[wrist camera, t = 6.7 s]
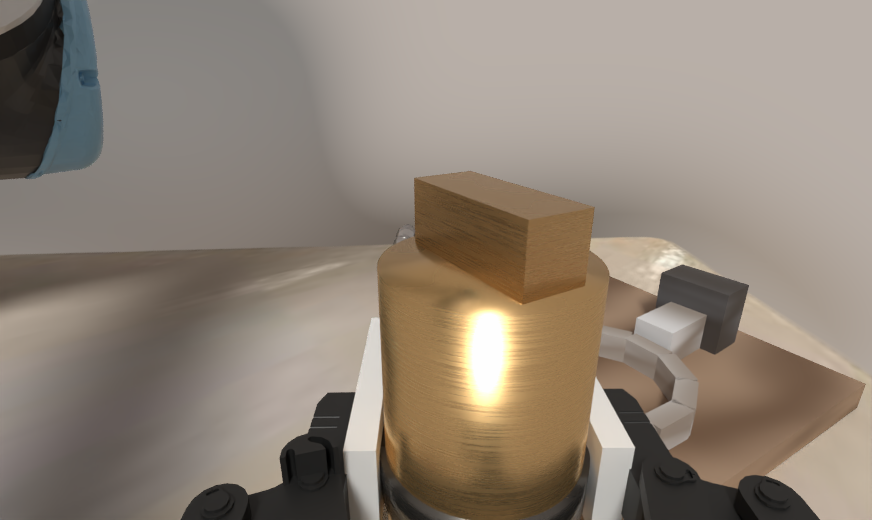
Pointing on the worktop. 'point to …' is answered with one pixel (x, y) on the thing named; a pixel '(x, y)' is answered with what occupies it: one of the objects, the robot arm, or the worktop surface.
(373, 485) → the robot arm
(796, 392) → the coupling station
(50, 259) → the worktop surface
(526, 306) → the coupling
